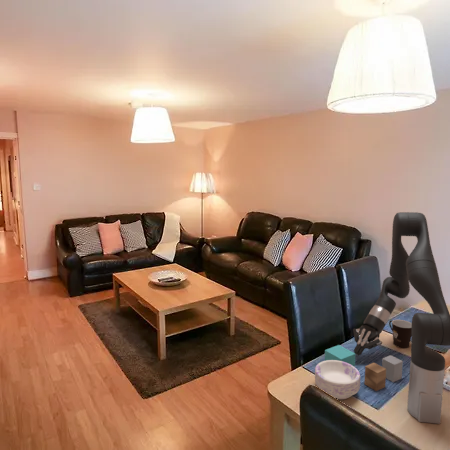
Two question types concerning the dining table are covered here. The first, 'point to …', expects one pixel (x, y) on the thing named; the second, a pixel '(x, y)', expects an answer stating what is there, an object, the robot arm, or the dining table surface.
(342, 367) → the paper bowls
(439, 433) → the dining table surface
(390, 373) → the slate-grey block
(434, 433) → the dining table surface
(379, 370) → the walnut block
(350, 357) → the teal block
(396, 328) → the coffee mug
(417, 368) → the robot arm
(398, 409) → the dining table surface
